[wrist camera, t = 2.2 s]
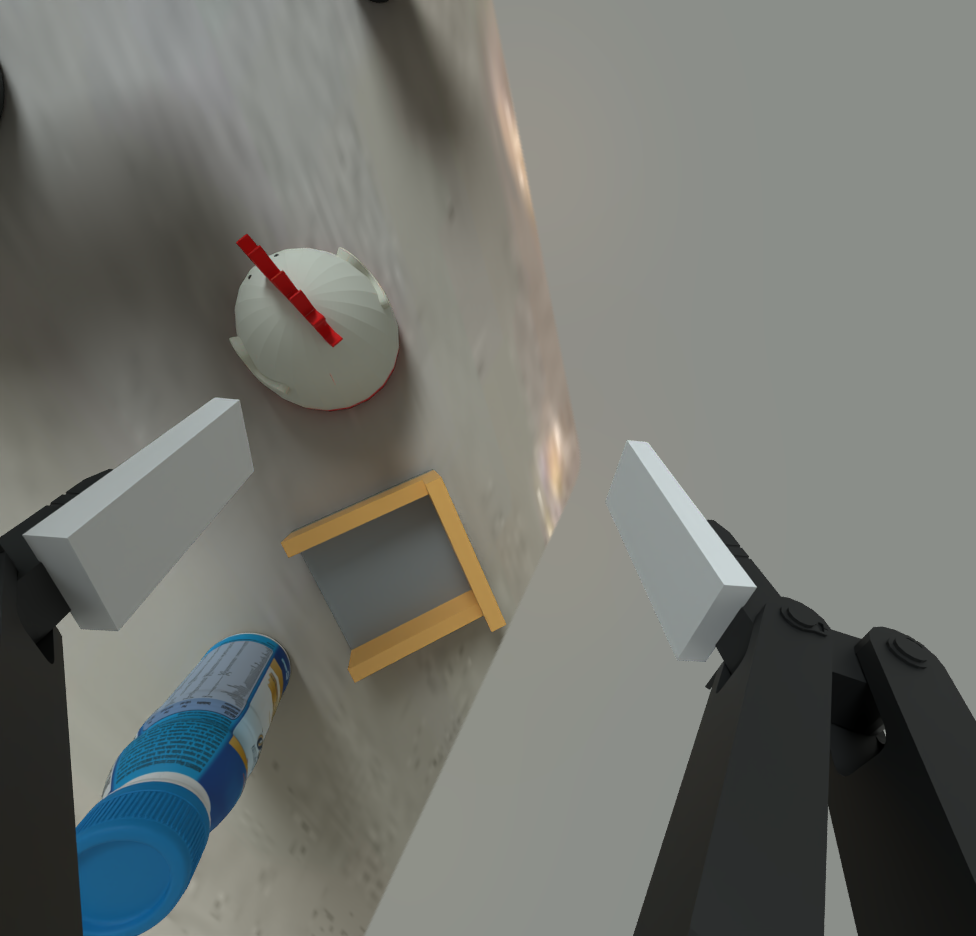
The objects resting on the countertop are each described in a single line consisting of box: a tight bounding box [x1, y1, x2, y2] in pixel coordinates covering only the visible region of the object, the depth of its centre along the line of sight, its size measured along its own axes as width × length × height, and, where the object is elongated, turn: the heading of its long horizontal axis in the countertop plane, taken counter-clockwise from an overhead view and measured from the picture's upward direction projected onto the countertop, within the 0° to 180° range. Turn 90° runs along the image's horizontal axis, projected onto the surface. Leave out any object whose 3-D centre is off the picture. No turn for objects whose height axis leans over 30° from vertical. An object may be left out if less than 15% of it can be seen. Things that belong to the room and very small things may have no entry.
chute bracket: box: [281, 469, 506, 682], centre depth 39 cm, size 15×15×8 cm
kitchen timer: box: [229, 234, 399, 411], centre depth 32 cm, size 14×14×15 cm
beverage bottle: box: [76, 633, 291, 936], centre depth 31 cm, size 8×8×20 cm
